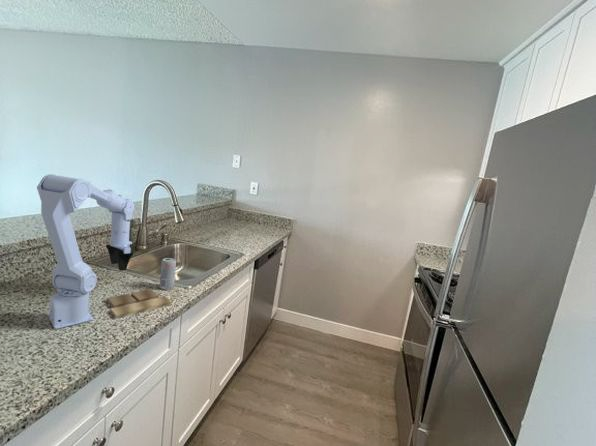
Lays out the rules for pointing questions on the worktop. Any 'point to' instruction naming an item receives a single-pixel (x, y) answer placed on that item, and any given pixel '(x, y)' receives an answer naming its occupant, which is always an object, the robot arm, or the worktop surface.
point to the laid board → (139, 307)
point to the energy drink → (168, 273)
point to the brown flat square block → (121, 300)
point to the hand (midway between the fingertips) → (118, 266)
